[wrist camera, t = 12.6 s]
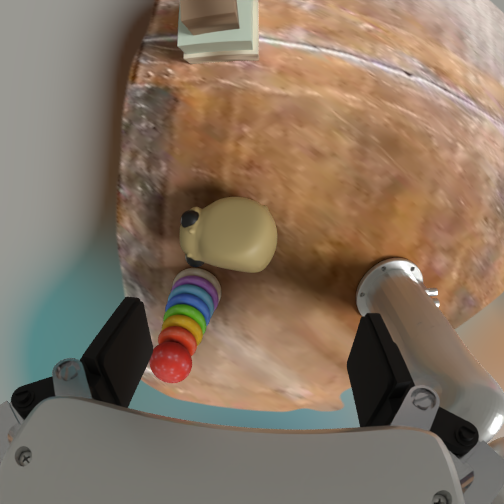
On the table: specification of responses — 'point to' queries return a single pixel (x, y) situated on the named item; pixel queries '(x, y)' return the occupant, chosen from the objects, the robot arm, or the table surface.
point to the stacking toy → (184, 323)
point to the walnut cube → (209, 15)
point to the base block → (231, 55)
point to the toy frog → (229, 235)
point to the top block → (220, 34)
